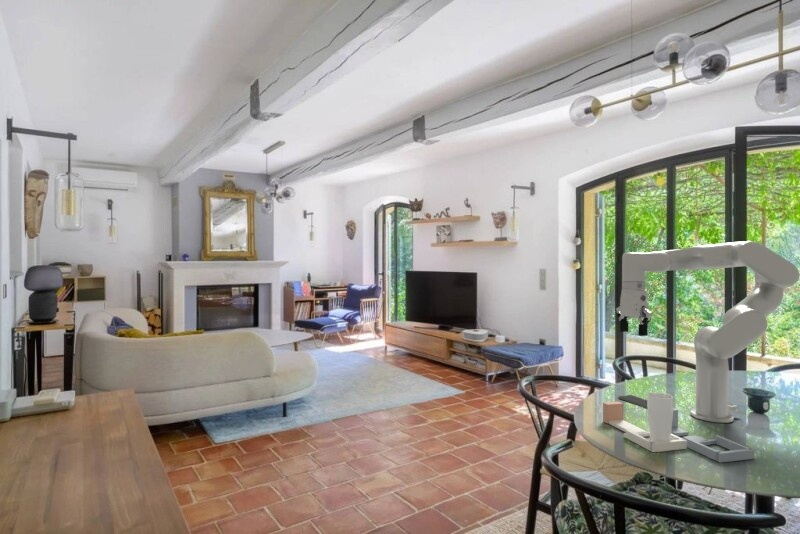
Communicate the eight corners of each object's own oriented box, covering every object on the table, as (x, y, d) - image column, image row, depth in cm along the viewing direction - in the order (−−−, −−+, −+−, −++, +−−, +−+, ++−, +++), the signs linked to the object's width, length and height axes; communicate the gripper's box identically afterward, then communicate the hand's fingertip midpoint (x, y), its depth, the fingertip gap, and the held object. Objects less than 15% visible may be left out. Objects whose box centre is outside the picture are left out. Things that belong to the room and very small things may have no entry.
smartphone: (651, 408, 174) (617, 396, 189) (651, 411, 174) (617, 399, 189) (666, 406, 177) (631, 394, 192) (666, 409, 177) (631, 397, 192)
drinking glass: (676, 451, 136) (676, 399, 136) (650, 449, 138) (650, 397, 138) (669, 442, 143) (669, 393, 143) (644, 440, 145) (644, 391, 144)
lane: (625, 419, 163) (625, 400, 163) (686, 448, 138) (686, 426, 138) (595, 421, 161) (595, 403, 161) (652, 452, 135) (652, 429, 135)
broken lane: (678, 426, 156) (679, 407, 156) (754, 458, 131) (754, 435, 131) (649, 429, 154) (649, 409, 154) (719, 462, 128) (720, 438, 128)
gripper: (660, 287, 165) (660, 336, 165) (626, 285, 182) (626, 329, 182) (641, 287, 163) (641, 337, 163) (608, 285, 180) (608, 330, 180)
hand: (633, 333), depth 173 cm, fingers open, 9 cm apart
